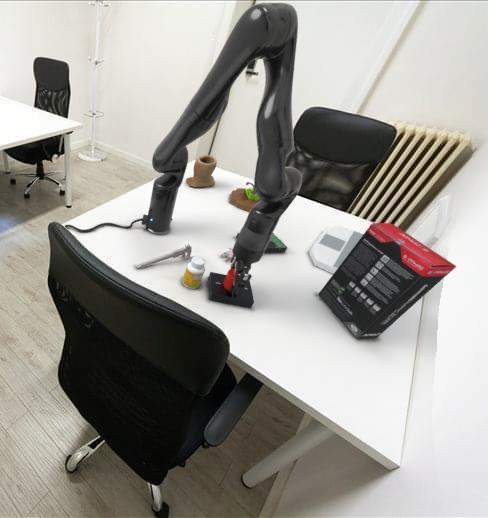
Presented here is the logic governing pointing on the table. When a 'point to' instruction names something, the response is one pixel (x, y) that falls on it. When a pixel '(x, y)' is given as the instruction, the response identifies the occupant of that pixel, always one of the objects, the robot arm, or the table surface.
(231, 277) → the knob
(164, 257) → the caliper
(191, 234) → the table surface
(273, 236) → the disk drive
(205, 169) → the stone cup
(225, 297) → the control panel
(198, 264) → the supplement bottle
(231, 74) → the robot arm
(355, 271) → the graphics card box
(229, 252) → the pink creature figurine
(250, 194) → the plant
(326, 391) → the table surface
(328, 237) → the laptop
